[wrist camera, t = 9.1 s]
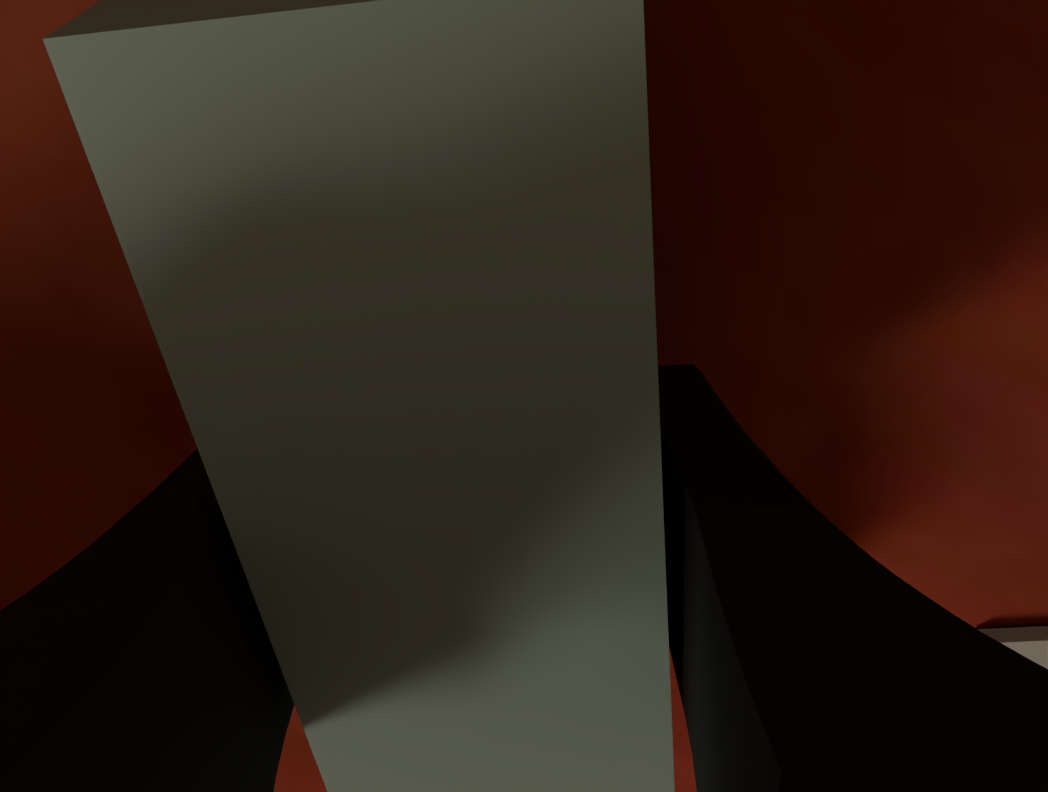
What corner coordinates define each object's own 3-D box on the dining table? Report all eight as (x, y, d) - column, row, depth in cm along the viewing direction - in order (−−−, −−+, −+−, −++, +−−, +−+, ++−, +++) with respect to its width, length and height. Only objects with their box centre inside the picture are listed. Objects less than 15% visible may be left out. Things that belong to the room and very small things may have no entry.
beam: (603, -126, 10) (642, -30, 6) (649, 660, 17) (679, 927, 13) (220, -81, 10) (42, 38, 7) (417, 675, 17) (383, 940, 13)
